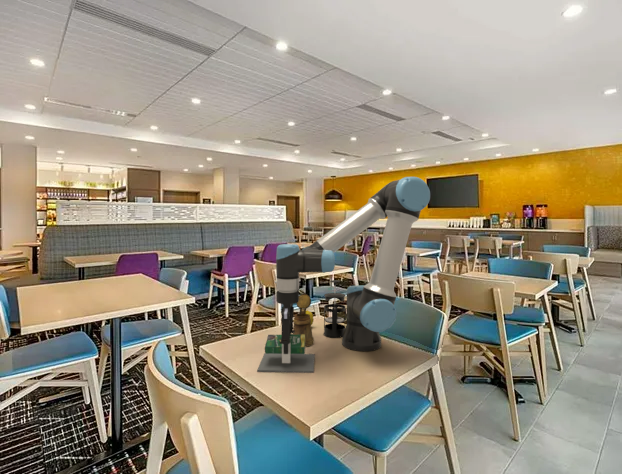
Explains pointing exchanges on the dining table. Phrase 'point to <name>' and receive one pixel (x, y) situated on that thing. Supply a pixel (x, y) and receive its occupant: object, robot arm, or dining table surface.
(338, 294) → the french press
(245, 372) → the dining table surface
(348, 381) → the dining table surface
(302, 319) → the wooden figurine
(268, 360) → the mat
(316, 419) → the dining table surface
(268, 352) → the coffee box
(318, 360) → the dining table surface
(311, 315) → the lemon
